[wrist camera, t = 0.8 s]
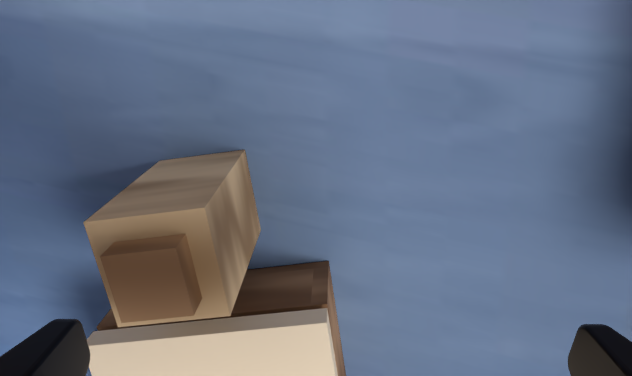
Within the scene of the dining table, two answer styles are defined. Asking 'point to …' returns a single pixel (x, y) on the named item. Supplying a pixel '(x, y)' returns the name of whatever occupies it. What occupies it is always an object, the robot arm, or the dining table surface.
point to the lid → (219, 347)
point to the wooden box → (278, 297)
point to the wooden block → (177, 240)
